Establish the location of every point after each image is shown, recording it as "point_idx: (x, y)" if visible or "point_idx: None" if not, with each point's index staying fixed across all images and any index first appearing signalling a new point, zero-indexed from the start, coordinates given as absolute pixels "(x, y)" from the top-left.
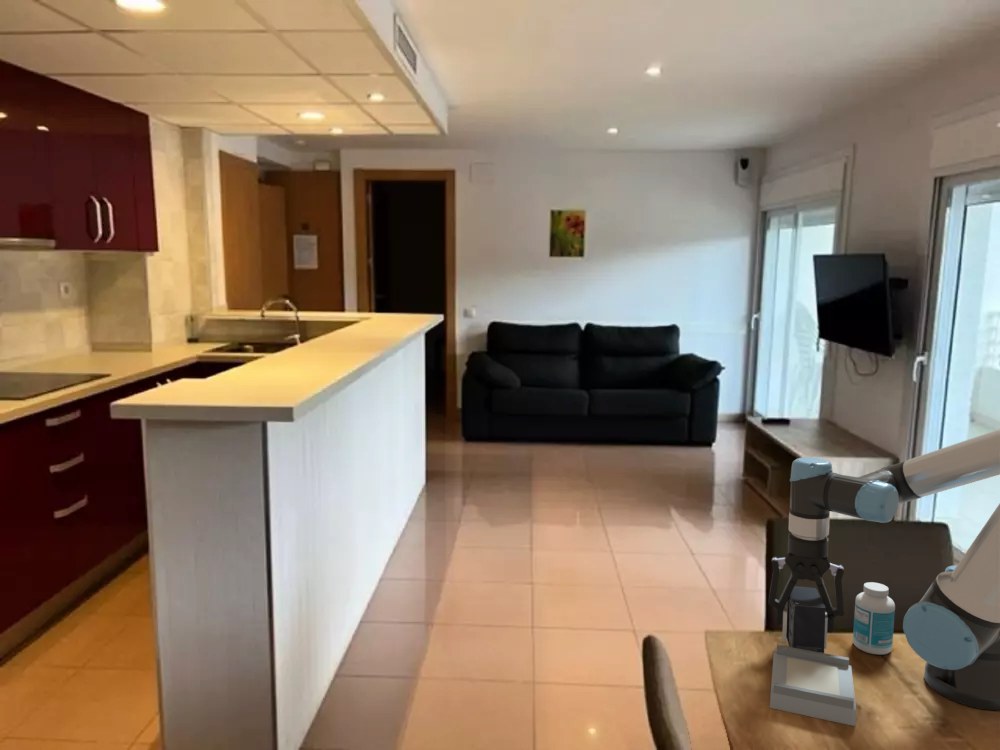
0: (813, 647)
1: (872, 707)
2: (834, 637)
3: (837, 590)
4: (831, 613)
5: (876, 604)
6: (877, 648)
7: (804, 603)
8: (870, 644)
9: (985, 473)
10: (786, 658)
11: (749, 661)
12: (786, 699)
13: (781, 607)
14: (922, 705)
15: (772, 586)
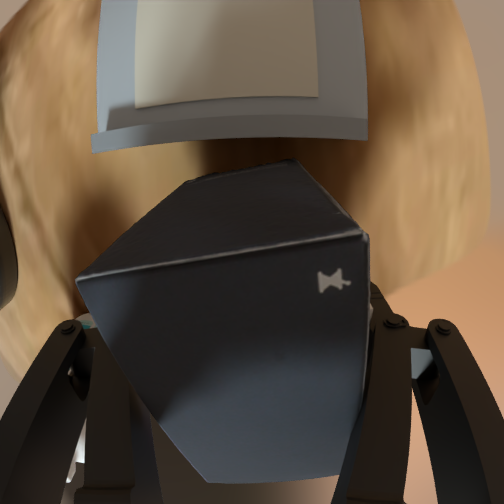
0: (215, 178)
1: (83, 42)
2: None
3: (17, 431)
4: None
5: None
6: (81, 320)
7: (254, 301)
8: (91, 325)
9: None
10: (320, 96)
11: (417, 141)
12: None
13: (390, 322)
14: (8, 125)
15: (490, 408)
